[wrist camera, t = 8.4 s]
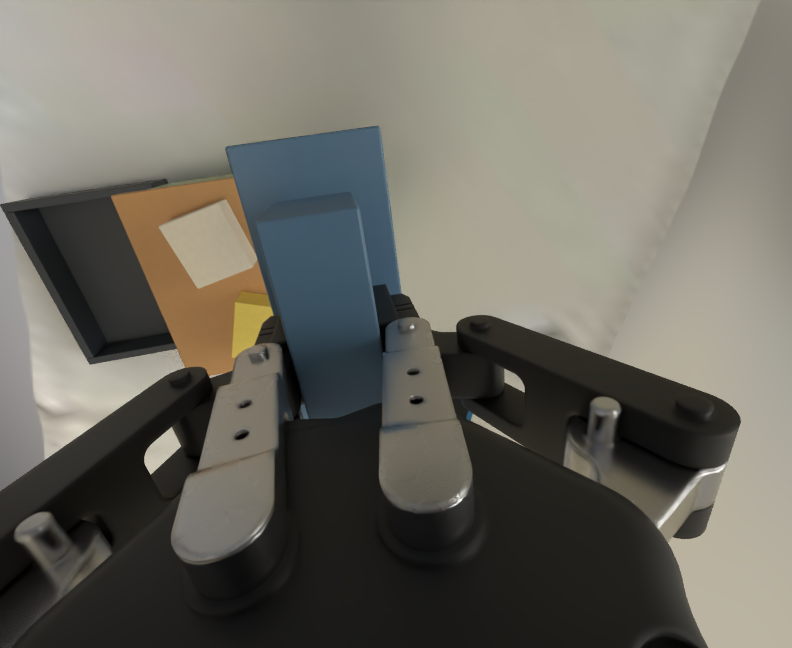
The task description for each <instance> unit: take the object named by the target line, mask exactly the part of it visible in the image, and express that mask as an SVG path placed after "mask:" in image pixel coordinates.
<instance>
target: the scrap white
mask: <svg viewBox="0 0 792 648" xmlns="http://www.w3.org/2000/svg"><path fill="white" fill-rule="evenodd" d="M159 229H160V230H161V232H162V234H163V235H164V237H165V238H166V240H167V241H168V243H169V245H170V246H171V248H172V249H173V251H174V252H175V254H176V256H177V257H178V259H179V260H180V262H181V263H182V265H183V266H184V268H185V270H186V271H187V273H188V274H189V276H190V277H191V279H192V281H193V282H194V284H195V285H196V287H197V288H198V289H199V288H202V287H204V286H207V285H210V284H212V283H215V282H217V281H220V280H222V279H225V278H227V277H230V276H232V275H235V274H238V273H240V272H243V271H245V270H248V269H250V268H252V267H253V266H254V264H255V263H256V261H257V257H256V254H255V252H254V250H253V248H252V246H251V244H250V243H249V241H248V239H247V237H246V235H245V233H244V231H243V230H242V228H241V226H240V224H239V222H238V220H237V218H236V217H235V215H234V213H233V211H232V209H231V207H230V205H229V204H228V202H227V200H226V199H223V200H220V201H218V202H215V203H213V204H210V205H208V206H205V207H203V208H200V209H198V210H195V211H193V212H190V213H187V214H185V215H182V216H180V217H177V218H175V219H172V220H170V221H168V222H166V223H164V224H162V225H160V226H159Z"/></svg>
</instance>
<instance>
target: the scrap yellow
mask: <svg viewBox="0 0 792 648" xmlns="http://www.w3.org/2000/svg"><path fill="white" fill-rule="evenodd" d="M270 316H273V312H272V309H271V305H270V302H269V298H268V295H264V294H257V293H250V292H243V291H241V293H240V295H239V296H238V298H237V300H236V301H235V307H234V324H233V340H232V358H236V356H237V355H238V354H239V353H241V352H242V351H244V350H245V349H247V348H250V347H252V346H254V345H255V342H256V339H257V337H258V334H259V331H260V329H261V326H262V324H263V322H264V321H266V320H267V319H268V318H269V317H270Z"/></svg>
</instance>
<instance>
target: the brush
mask: <svg viewBox="0 0 792 648" xmlns="http://www.w3.org/2000/svg"><path fill="white" fill-rule="evenodd" d="M225 150H226V153H227V157H228V160H229V164H230V167H231V171H232V174H233V177H234V181H235V184H236V188H237V191H238V195H239V198H240V202H241V205H242V209H243V212H244V215H245V219H246V222H247V226H248V229H249V233H250V236H251V240H252V243H253V246H254V250H255V253H256V257H257V260H258V264H259V267H260V271H261V274H262V278H263V281H264V284H265V288H266V291H267V295H268V298H269V302H270V305H271V309H272V312H273V316H275V315H279V316H280V319H281V323H282V326H283V330H284V333H285V337H286V340H287V344H288V347H289V351H290V354H291V358H292V362H293V365H294V369H295V372H296V376H297V379H298V383H299V386H300V390H301V393H302V397H303V401H304V404H303V405H301V408H300V409H301V412H302V416H303V419H323V418H339V417H342V416H345V415H347V414H350V413H353V412H355V411H358V410H361V409H363V408H366V407H369V406H372V405H374V404H378V403H382V368H383V348H382V342H381V336H380V330H379V324H378V318H377V311H376V305H375V299H374V293H373V287H372V286H376V285H382V284H386V286H387V288H388V291H389V293H390V295H395V294H401V286H400V278H399V270H398V263H397V255H396V247H395V239H394V232H393V224H392V216H391V208H390V200H389V193H388V185H387V177H386V169H385V162H384V154H383V146H382V138H381V131H380V127H379V126H372V127H365V128H357V129H350V130H343V131H336V132H328V133H321V134H314V135H307V136H299V137H292V138H285V139H277V140H270V141H263V142H256V143H248V144H241V145H234V146H227V147H226V149H225Z"/></svg>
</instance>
